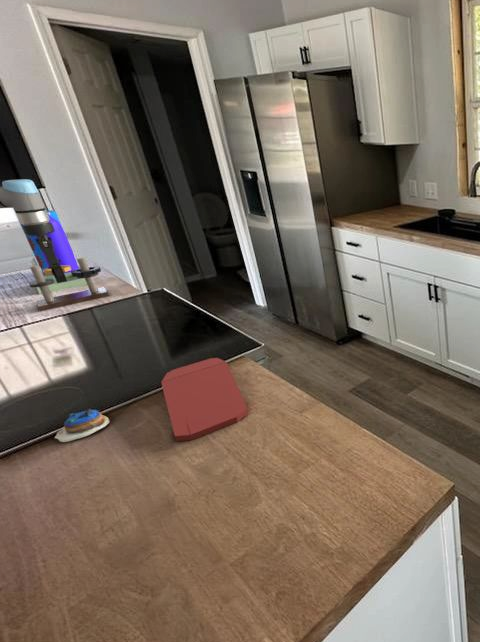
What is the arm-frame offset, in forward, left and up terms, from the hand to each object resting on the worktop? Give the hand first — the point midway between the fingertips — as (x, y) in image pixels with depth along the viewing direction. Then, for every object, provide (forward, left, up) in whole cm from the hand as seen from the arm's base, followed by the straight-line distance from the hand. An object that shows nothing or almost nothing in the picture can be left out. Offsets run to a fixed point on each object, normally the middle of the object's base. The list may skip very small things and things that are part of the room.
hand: (62, 281), depth 159 cm
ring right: (+23, -15, +8) cm, 28 cm away
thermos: (-16, +18, -2) cm, 25 cm away
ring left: (0, 0, +4) cm, 4 cm away
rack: (+19, -19, -1) cm, 26 cm away
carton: (+98, -85, -2) cm, 130 cm away
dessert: (+79, -92, -2) cm, 121 cm away
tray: (0, 0, -1) cm, 1 cm away
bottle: (-8, +11, -2) cm, 14 cm away
